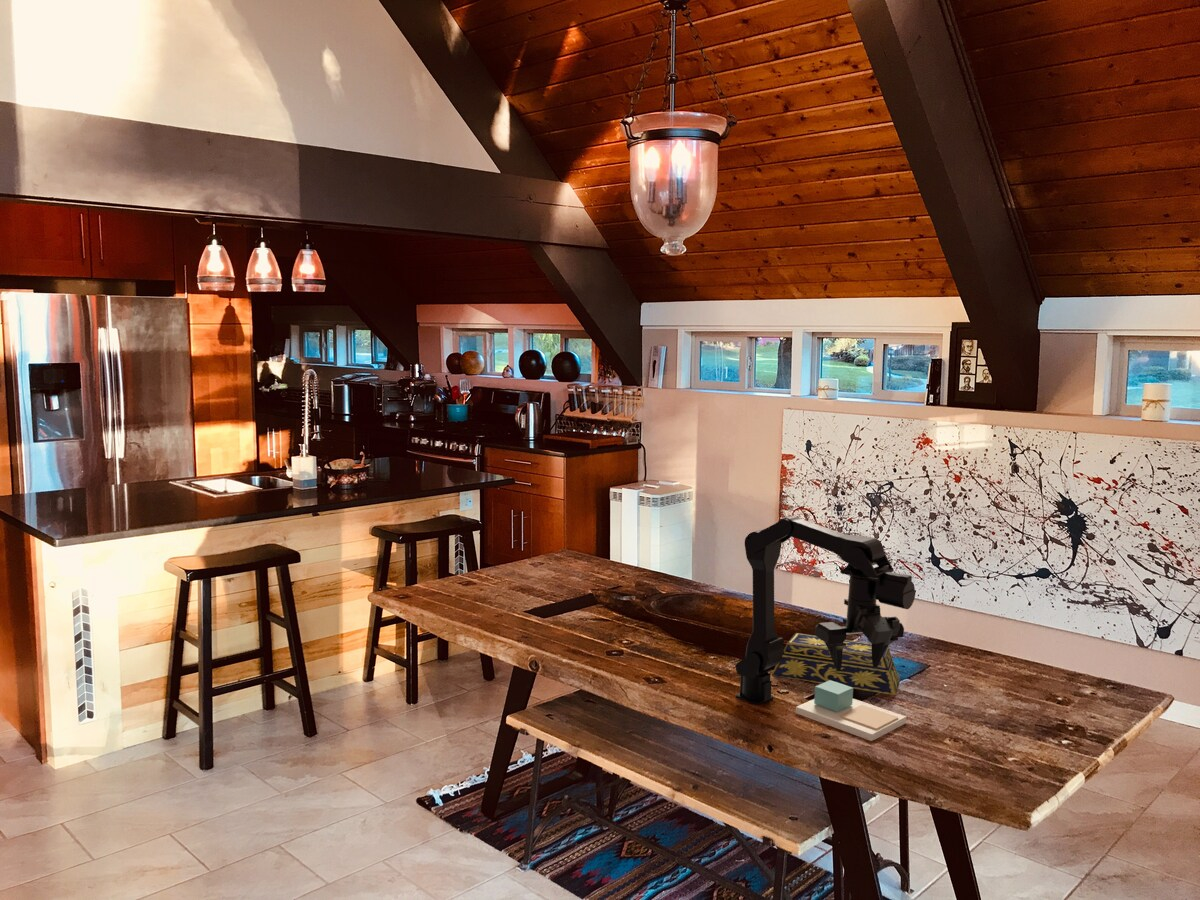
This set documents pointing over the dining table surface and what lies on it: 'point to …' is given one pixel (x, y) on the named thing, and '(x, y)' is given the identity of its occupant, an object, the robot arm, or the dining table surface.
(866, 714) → the board
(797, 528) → the robot arm
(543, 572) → the dining table surface
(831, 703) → the mint green cube
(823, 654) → the decorative box
